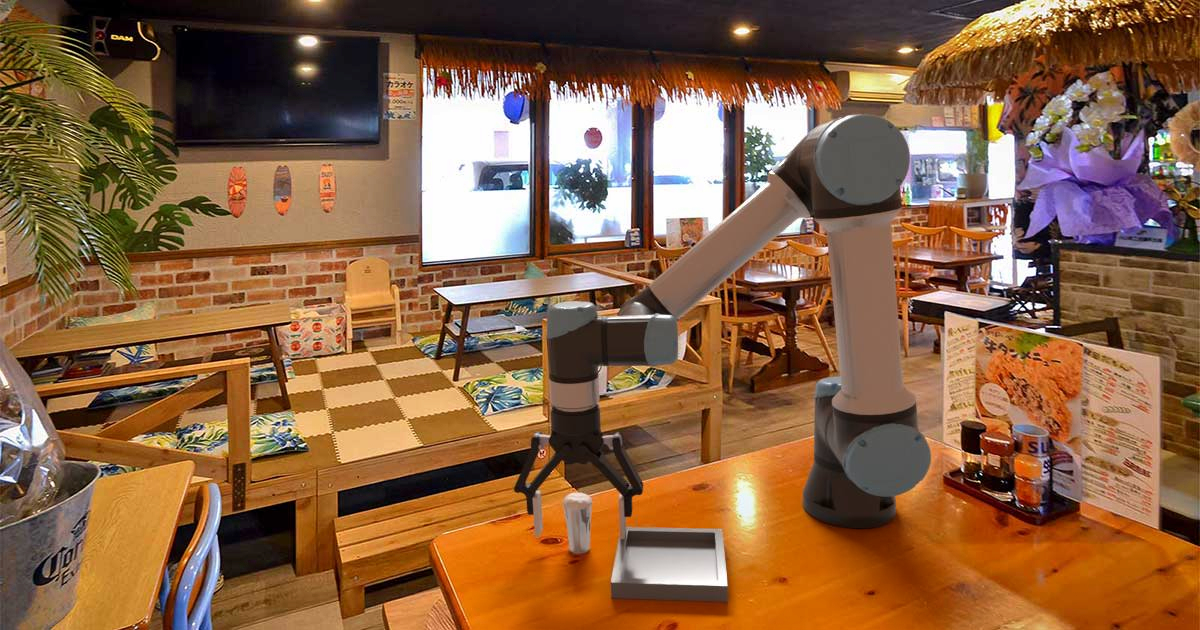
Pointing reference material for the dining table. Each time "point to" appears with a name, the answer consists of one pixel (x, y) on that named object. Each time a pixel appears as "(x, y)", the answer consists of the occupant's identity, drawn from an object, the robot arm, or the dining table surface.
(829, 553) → the dining table surface
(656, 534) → the slate tray
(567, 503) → the milkshake
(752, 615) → the dining table surface
